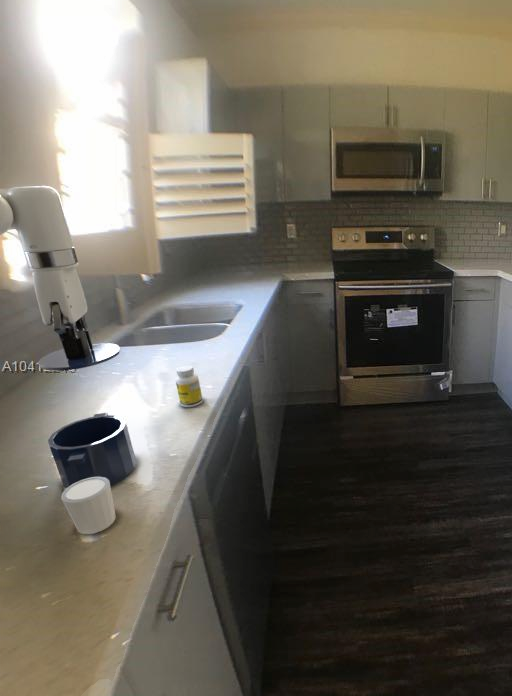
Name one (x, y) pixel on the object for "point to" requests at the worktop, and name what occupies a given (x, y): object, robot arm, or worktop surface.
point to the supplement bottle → (188, 387)
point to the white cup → (90, 504)
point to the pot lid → (93, 357)
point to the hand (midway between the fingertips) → (80, 353)
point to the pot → (93, 450)
